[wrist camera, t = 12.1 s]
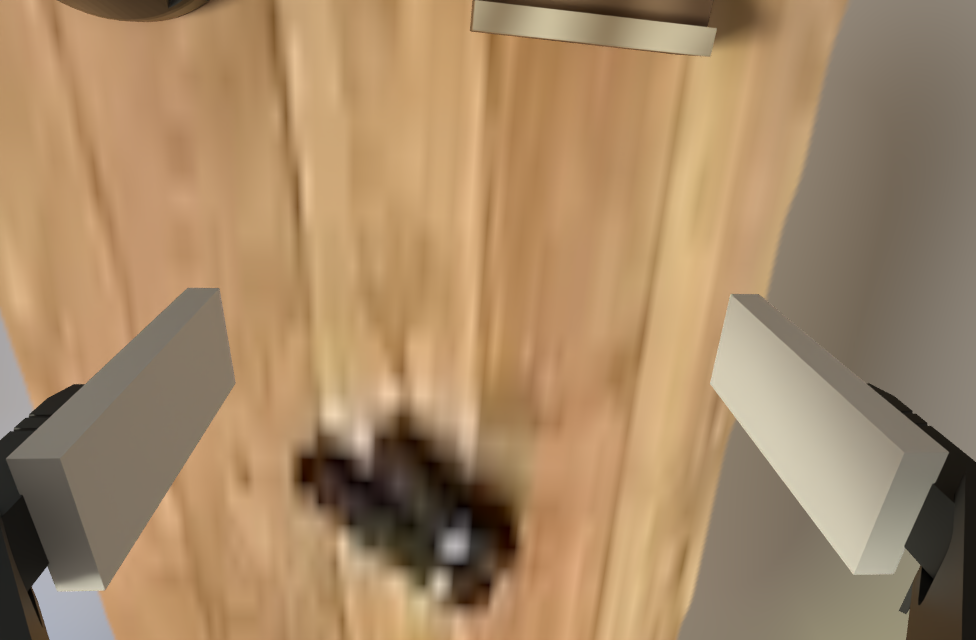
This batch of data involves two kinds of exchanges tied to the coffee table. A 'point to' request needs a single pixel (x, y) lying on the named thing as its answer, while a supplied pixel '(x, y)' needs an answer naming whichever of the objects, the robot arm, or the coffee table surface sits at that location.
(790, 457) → the robot arm
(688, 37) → the display stand
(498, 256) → the coffee table surface
